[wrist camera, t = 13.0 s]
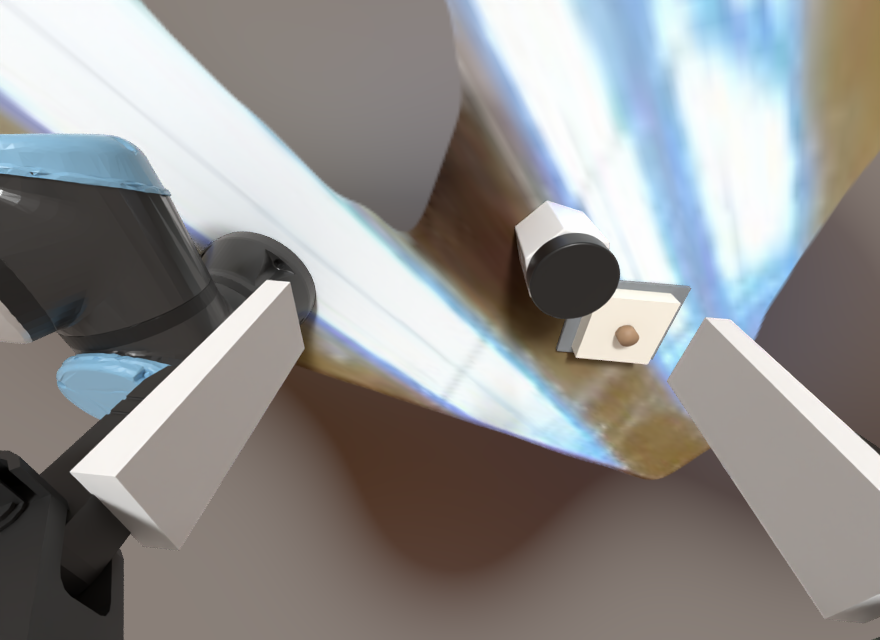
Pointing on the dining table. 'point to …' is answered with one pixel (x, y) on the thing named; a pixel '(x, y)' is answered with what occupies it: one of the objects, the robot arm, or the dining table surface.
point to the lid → (626, 327)
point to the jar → (565, 262)
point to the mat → (676, 290)
